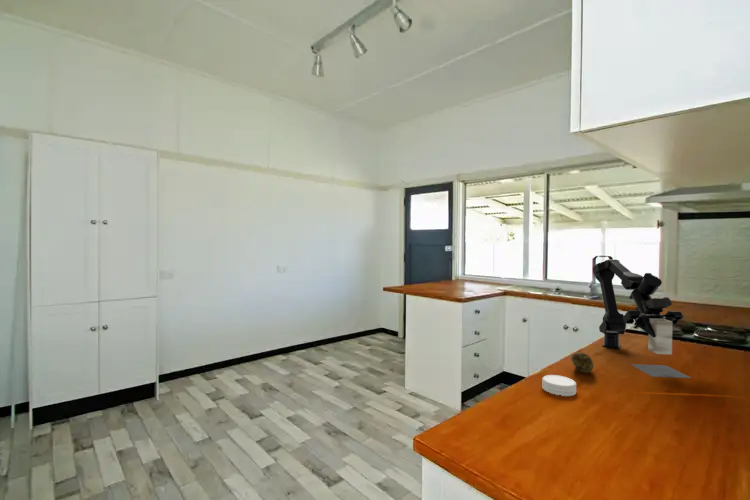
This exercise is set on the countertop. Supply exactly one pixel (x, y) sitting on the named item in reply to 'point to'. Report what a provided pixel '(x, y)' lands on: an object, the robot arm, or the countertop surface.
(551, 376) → the coaster
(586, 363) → the potato
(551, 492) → the countertop surface
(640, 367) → the rubber mat
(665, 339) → the tall block
